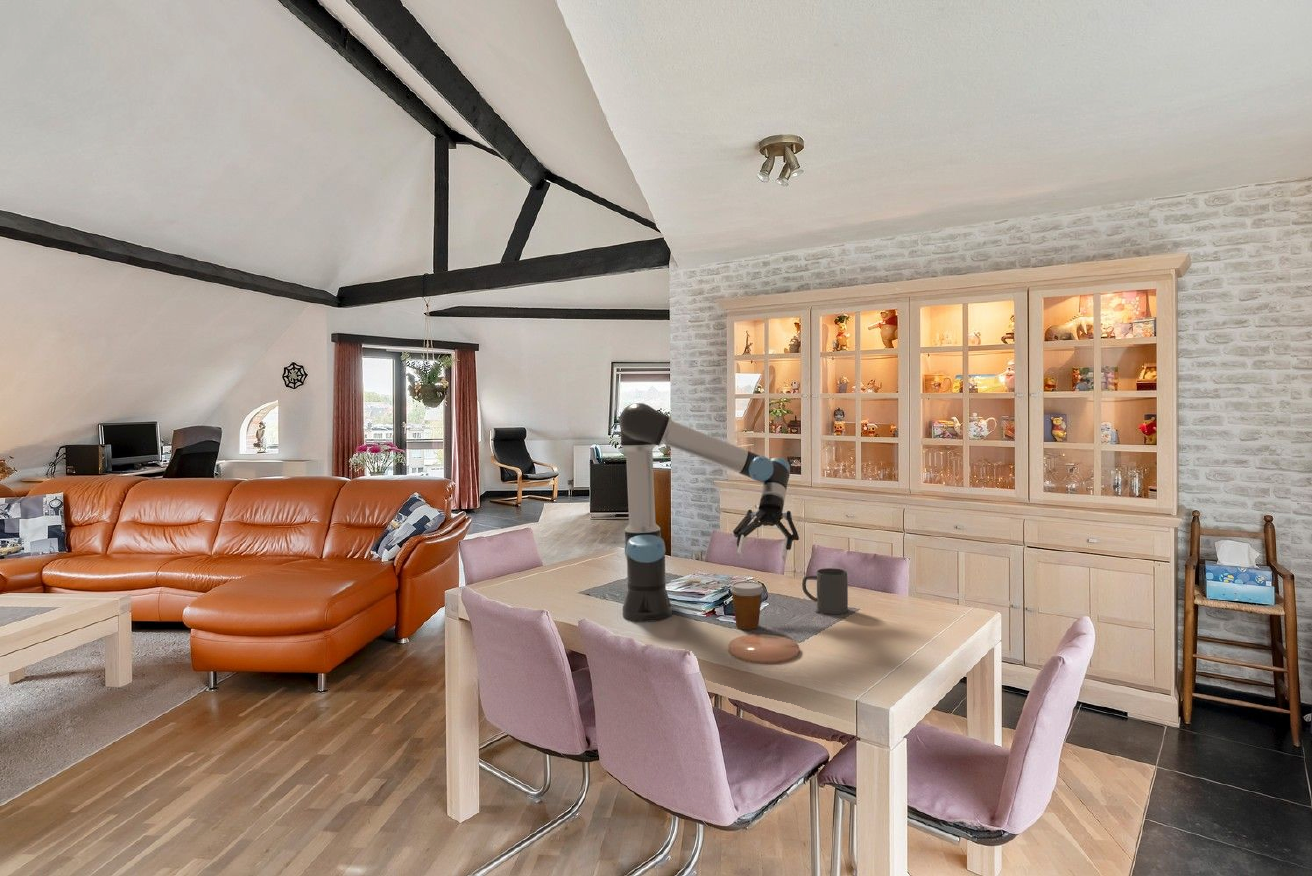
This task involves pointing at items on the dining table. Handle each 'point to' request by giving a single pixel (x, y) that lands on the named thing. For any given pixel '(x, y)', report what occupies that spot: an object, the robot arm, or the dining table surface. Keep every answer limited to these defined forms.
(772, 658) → the terracotta dish
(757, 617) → the disposable coffee cup
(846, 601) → the mug
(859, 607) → the dining table surface
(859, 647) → the dining table surface
